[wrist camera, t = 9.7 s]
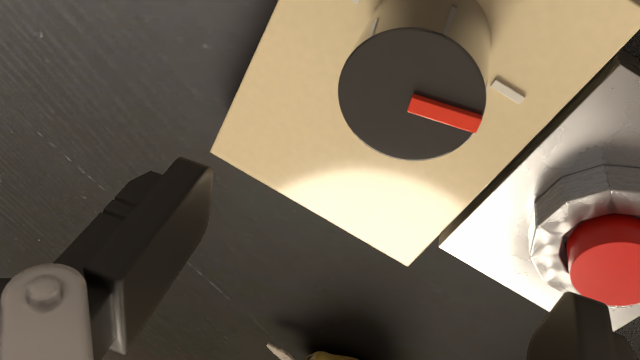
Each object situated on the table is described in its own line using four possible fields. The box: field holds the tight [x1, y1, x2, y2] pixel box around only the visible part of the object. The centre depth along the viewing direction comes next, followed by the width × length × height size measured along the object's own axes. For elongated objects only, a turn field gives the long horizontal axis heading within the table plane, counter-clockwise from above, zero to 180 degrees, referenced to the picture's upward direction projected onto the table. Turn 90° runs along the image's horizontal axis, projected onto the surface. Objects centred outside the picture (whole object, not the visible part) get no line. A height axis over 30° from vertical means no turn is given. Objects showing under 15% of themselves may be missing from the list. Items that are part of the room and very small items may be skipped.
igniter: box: [438, 48, 640, 332], centre depth 25 cm, size 12×10×4 cm
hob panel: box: [210, 0, 640, 266], centre depth 24 cm, size 16×12×3 cm
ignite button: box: [566, 214, 640, 306], centre depth 23 cm, size 4×4×2 cm
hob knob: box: [338, 0, 491, 161], centre depth 20 cm, size 5×5×5 cm
